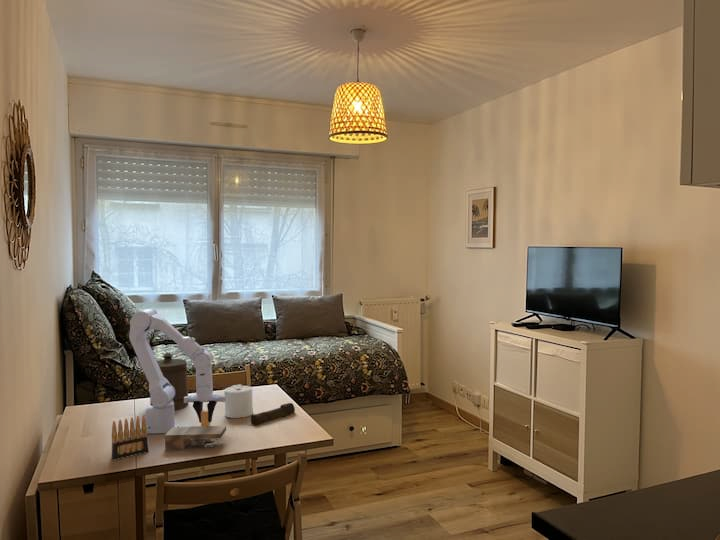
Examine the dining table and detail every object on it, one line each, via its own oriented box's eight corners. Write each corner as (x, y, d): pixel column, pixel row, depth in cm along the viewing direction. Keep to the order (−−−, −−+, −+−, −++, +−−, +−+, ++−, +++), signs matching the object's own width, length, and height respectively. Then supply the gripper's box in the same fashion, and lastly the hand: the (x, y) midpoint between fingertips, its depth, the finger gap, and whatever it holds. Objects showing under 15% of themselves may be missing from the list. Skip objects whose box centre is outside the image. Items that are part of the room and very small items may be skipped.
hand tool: (255, 426, 201) (255, 414, 201) (250, 424, 204) (249, 411, 204) (298, 415, 213) (298, 403, 213) (292, 413, 216) (292, 401, 216)
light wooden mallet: (192, 439, 187) (192, 421, 187) (203, 425, 201) (202, 409, 200) (200, 438, 187) (199, 421, 187) (210, 425, 201) (209, 409, 200)
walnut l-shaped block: (165, 450, 179) (164, 435, 178) (173, 441, 187) (172, 427, 186) (220, 449, 179) (220, 433, 179) (226, 440, 187) (226, 425, 187)
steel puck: (202, 448, 181) (202, 443, 181) (205, 443, 185) (205, 438, 185) (214, 447, 181) (214, 442, 181) (217, 443, 185) (217, 438, 185)
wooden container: (180, 398, 239) (178, 348, 238) (194, 406, 227) (192, 353, 226) (145, 405, 229) (143, 353, 228) (158, 413, 218) (155, 358, 217)
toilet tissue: (232, 420, 208) (231, 394, 207) (218, 413, 217) (218, 388, 217) (257, 414, 215) (257, 389, 214) (243, 407, 224) (242, 383, 223)
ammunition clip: (147, 450, 179) (145, 413, 179) (148, 452, 178) (147, 415, 177) (111, 458, 173) (110, 420, 173) (112, 459, 172) (111, 421, 171)
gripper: (227, 381, 203) (228, 417, 203) (187, 382, 202) (188, 418, 203) (222, 386, 195) (223, 424, 196) (181, 387, 195) (182, 425, 196)
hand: (205, 421), depth 199 cm, fingers closed on light wooden mallet, 3 cm apart
